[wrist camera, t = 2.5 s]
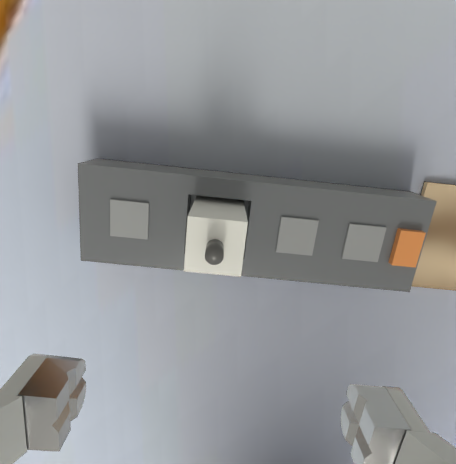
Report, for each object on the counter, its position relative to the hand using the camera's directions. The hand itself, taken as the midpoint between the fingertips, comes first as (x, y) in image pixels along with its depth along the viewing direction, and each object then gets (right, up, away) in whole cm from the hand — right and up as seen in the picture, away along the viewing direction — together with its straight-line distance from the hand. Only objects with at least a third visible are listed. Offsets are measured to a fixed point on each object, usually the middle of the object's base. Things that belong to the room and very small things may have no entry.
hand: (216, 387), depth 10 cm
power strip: (+2, +6, +21) cm, 22 cm away
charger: (0, +6, +19) cm, 20 cm away
